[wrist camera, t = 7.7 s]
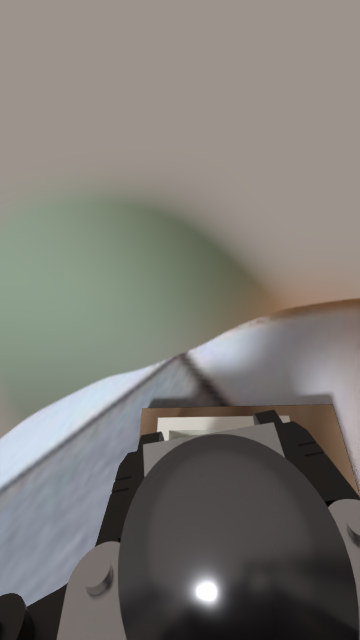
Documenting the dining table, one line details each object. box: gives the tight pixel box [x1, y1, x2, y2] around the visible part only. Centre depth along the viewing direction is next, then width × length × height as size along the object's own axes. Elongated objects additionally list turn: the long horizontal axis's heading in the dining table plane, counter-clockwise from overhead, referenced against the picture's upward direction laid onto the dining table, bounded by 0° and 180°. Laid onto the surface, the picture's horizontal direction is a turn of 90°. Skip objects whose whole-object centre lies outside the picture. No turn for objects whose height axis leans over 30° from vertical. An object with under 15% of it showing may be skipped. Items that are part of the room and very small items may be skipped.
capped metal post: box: [118, 422, 359, 640], centre depth 9 cm, size 4×4×13 cm
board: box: [139, 404, 360, 497], centre depth 19 cm, size 16×12×1 cm
